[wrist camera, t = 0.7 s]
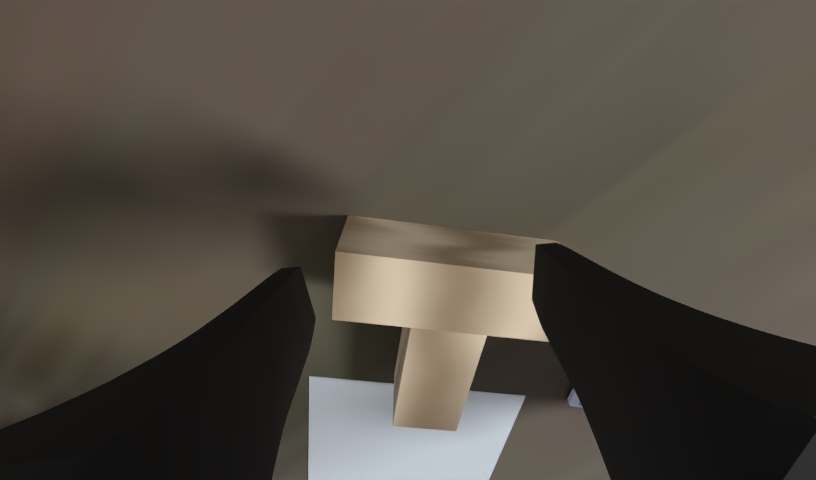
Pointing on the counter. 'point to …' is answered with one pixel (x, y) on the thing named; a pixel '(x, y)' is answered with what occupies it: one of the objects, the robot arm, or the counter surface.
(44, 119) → the counter surface
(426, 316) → the t block
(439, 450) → the mat
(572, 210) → the counter surface
